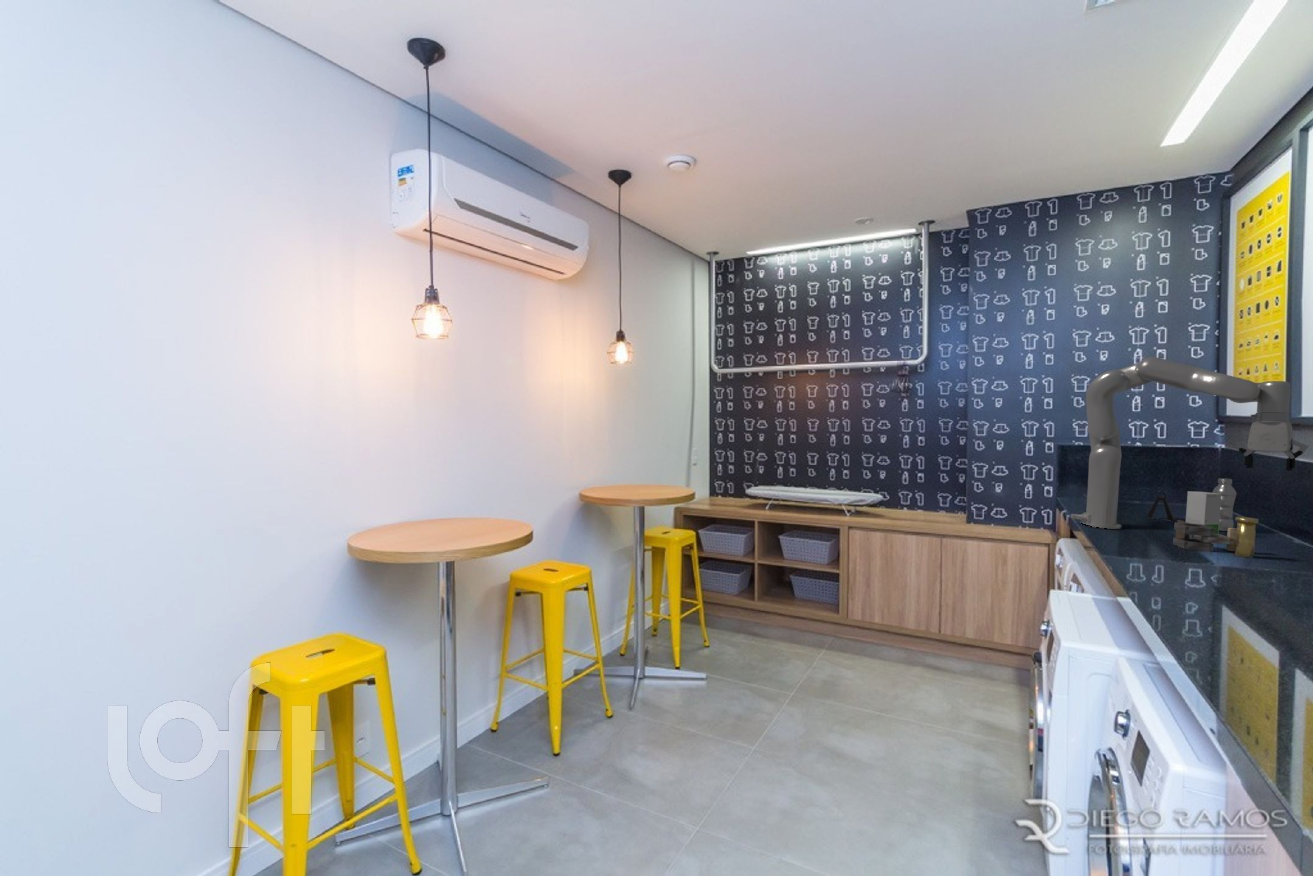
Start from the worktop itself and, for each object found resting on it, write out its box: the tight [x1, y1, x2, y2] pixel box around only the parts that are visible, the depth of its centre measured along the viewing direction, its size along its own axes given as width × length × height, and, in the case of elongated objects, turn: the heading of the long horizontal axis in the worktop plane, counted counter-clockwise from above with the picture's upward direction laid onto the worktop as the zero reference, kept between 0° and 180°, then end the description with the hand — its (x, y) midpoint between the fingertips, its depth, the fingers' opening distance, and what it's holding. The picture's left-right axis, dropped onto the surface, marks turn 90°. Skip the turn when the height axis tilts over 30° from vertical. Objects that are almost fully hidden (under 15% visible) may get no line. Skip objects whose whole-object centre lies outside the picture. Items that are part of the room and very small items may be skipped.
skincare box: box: [1185, 490, 1221, 534], centre depth 218 cm, size 8×7×16 cm
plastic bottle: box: [1212, 477, 1237, 532], centre depth 225 cm, size 6×7×20 cm
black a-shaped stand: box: [1145, 490, 1175, 522], centre depth 248 cm, size 9×6×12 cm, turn 48°
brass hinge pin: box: [1234, 516, 1259, 558], centre depth 184 cm, size 5×5×12 cm
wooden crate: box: [1191, 527, 1257, 554], centre depth 192 cm, size 14×8×7 cm, turn 70°
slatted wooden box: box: [1172, 519, 1215, 553], centre depth 197 cm, size 8×14×8 cm, turn 160°
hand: (1268, 469), depth 200 cm, fingers open, 9 cm apart
